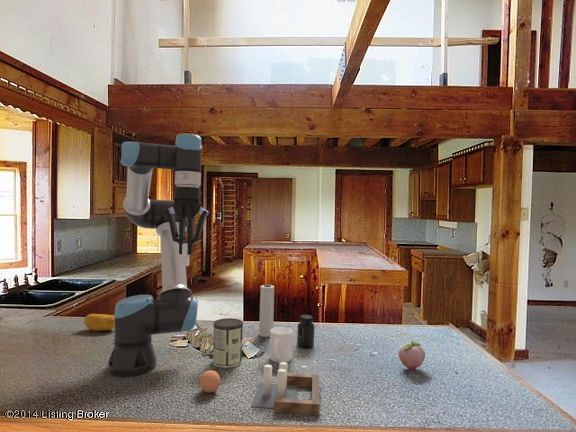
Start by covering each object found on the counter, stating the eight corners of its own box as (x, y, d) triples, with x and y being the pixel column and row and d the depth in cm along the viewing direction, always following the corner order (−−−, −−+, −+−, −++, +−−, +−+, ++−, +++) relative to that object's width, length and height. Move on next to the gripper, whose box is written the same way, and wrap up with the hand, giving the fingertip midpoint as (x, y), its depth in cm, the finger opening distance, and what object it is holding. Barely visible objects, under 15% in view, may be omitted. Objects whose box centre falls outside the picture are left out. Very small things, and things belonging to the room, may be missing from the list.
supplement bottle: (294, 347, 148) (295, 317, 148) (300, 342, 155) (301, 313, 154) (310, 350, 146) (311, 319, 145) (316, 344, 152) (317, 315, 152)
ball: (196, 395, 107) (196, 375, 107) (202, 386, 113) (203, 366, 113) (217, 397, 107) (217, 376, 107) (222, 387, 113) (222, 367, 113)
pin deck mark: (251, 407, 102) (251, 406, 102) (258, 383, 116) (258, 383, 116) (294, 410, 101) (294, 409, 101) (297, 386, 115) (297, 385, 115)
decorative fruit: (406, 362, 137) (407, 335, 136) (427, 369, 131) (428, 340, 131) (392, 369, 130) (393, 340, 130) (415, 377, 124) (416, 347, 124)
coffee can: (223, 354, 139) (224, 316, 139) (247, 359, 135) (248, 320, 134) (206, 364, 130) (207, 323, 129) (231, 370, 125) (232, 328, 125)
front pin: (262, 397, 108) (263, 367, 108) (263, 393, 110) (264, 364, 110) (270, 397, 108) (271, 368, 108) (271, 393, 110) (272, 364, 110)
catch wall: (273, 412, 100) (274, 401, 100) (280, 382, 118) (280, 372, 118) (319, 415, 99) (319, 404, 99) (318, 384, 117) (318, 374, 117)
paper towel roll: (267, 338, 158) (269, 287, 157) (256, 335, 161) (257, 285, 161) (277, 334, 164) (278, 285, 163) (265, 331, 167) (267, 283, 167)
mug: (285, 368, 128) (286, 338, 128) (262, 365, 130) (263, 335, 130) (294, 356, 139) (295, 328, 139) (273, 353, 142) (274, 325, 142)
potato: (112, 334, 157) (112, 317, 157) (80, 332, 159) (80, 315, 159) (121, 329, 164) (122, 313, 164) (90, 327, 166) (91, 311, 166)
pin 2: (276, 402, 105) (277, 372, 105) (277, 398, 107) (278, 368, 107) (284, 403, 105) (285, 372, 105) (285, 398, 107) (286, 369, 107)
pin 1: (278, 394, 110) (279, 365, 110) (278, 390, 112) (279, 361, 112) (286, 394, 110) (287, 365, 110) (286, 390, 112) (287, 362, 112)
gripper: (161, 185, 109) (159, 266, 109) (206, 186, 108) (203, 268, 108) (170, 187, 116) (168, 263, 116) (212, 188, 116) (210, 264, 116)
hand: (185, 265), depth 112 cm, fingers closed
